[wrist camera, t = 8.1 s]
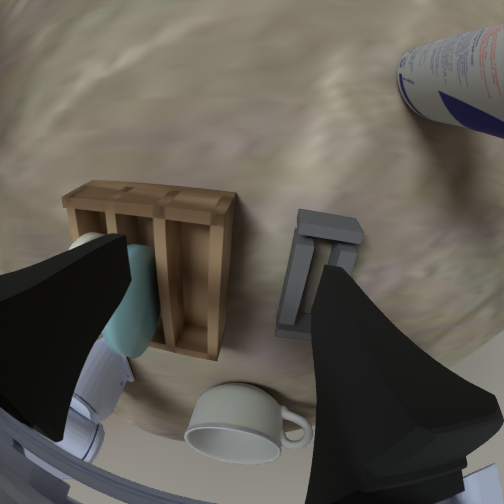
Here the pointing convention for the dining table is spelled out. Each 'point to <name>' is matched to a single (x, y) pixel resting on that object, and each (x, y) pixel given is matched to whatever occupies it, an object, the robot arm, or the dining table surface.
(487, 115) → the energy drink
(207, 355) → the walnut rack
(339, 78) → the dining table surface
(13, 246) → the dining table surface
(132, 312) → the teal plate
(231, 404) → the teacup
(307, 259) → the rubber holder
